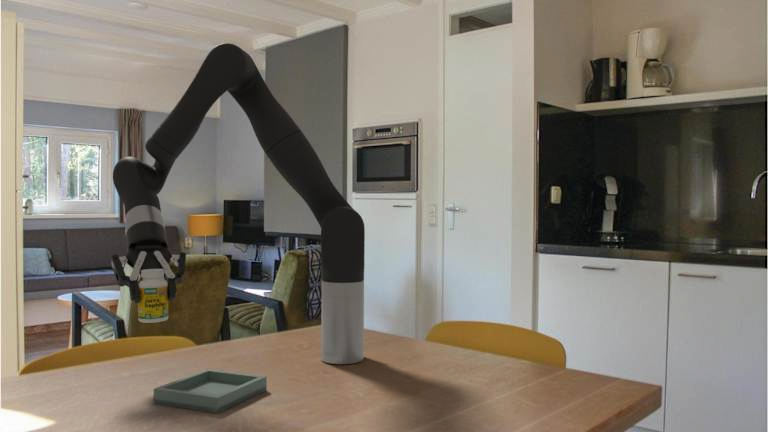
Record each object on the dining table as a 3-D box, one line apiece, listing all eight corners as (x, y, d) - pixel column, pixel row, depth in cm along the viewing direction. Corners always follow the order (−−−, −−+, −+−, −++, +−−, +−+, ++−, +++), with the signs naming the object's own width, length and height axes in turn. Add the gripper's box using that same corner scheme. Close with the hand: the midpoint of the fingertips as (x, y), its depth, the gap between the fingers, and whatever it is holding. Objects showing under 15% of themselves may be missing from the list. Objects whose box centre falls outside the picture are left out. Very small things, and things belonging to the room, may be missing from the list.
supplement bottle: (164, 317, 120) (164, 267, 120) (171, 321, 116) (171, 269, 116) (135, 319, 118) (134, 269, 117) (141, 324, 113) (140, 271, 113)
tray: (207, 382, 117) (207, 369, 117) (266, 390, 112) (266, 376, 112) (153, 403, 104) (153, 388, 104) (217, 413, 99) (217, 397, 99)
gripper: (107, 220, 120) (113, 289, 109) (184, 219, 126) (197, 284, 116) (106, 246, 125) (111, 314, 114) (180, 244, 131) (191, 308, 121)
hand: (154, 299), depth 115 cm, fingers closed on supplement bottle, 5 cm apart
